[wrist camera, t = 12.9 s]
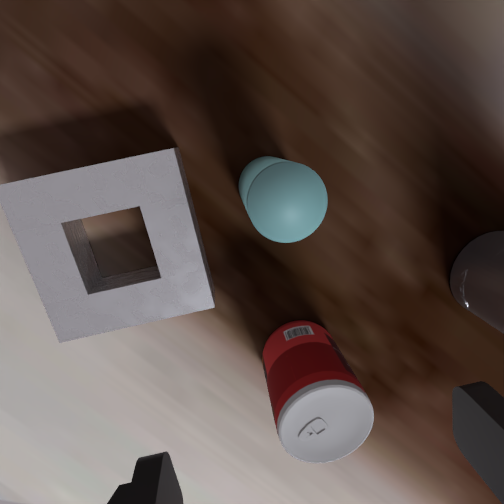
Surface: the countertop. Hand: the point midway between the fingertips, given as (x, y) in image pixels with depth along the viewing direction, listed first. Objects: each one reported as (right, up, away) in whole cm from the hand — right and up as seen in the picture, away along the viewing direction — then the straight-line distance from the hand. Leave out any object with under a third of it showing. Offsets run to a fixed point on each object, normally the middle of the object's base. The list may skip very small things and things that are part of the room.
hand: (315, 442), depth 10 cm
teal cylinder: (0, +11, +23) cm, 26 cm away
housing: (-14, +6, +24) cm, 28 cm away
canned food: (+3, -5, +29) cm, 30 cm away
